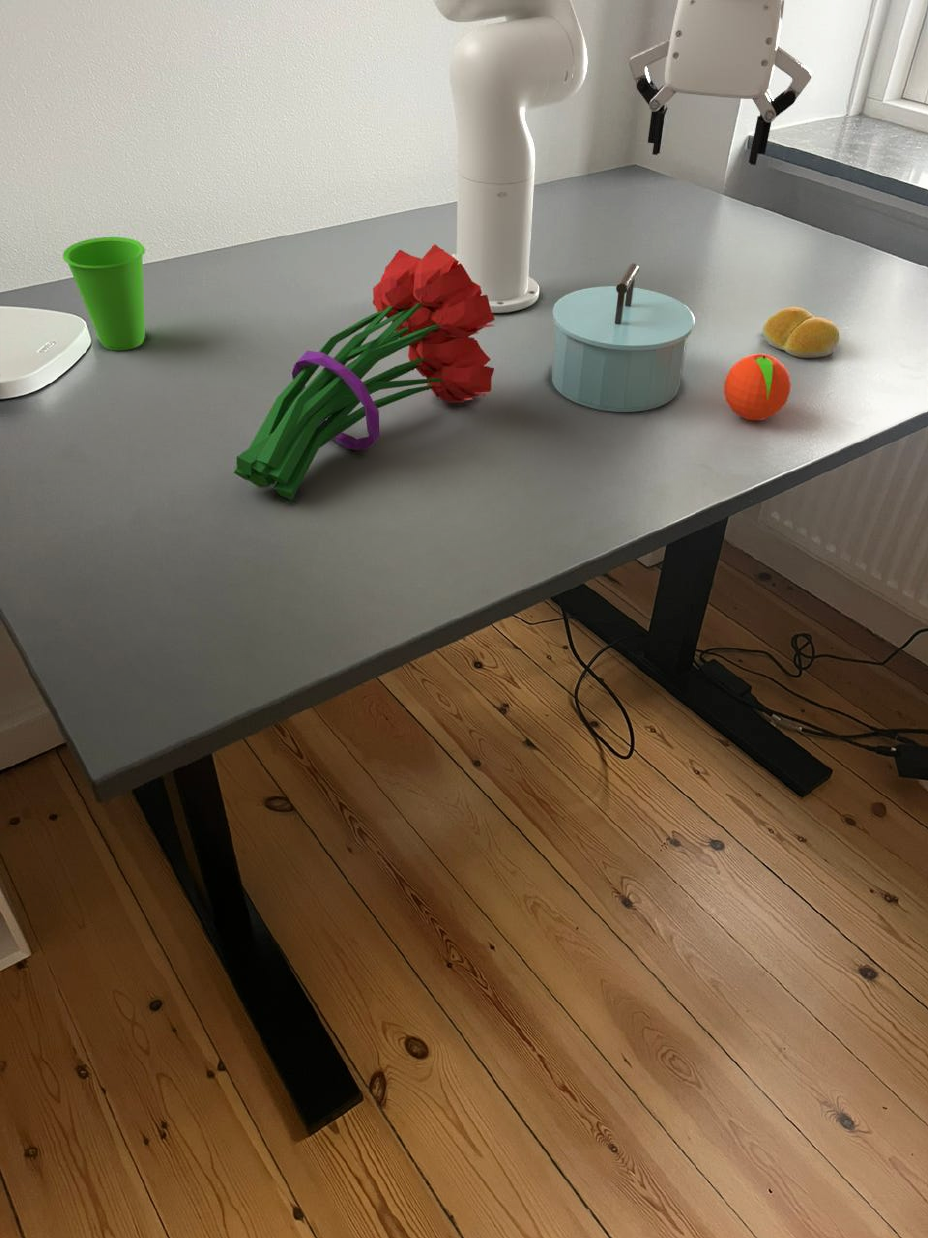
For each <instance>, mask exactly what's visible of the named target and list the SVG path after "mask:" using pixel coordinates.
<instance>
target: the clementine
mask: <svg viewBox="0 0 928 1238" xmlns="http://www.w3.org/2000/svg"><path fill="white" fill-rule="evenodd" d="M723 385H724V386H723V394H724V399H725V402H726V403H727V405H728V407H729V408H730V410H731V412H733V413H734V414H735V415H737V416H738V417H740V418H742V419H745V420H748V421H749V420H750V421H761V420H764V419H768V418H770V417H772V416H774V415H776V414H777V413H778V412H779V411H781V410H782V408H783V407H784V406H785V405H786V403H787V401H788V397H789V396H790V394H791V386H792V383H791V378H790V374H789V371H788V370H787V368H786V366H785V365H784V364H783V363H782V362H781V361H780V360H778V359H777V358H776V357H774V356H773V355H769V354H766V353H765V354H764V353H754V354H751V355H748V356H745V357H743V358H740V360H738V361H737V362H735V364H733V366H732V367H731V368H730V369H729V371H728V372H727V374H726V376H725V380H724V384H723Z"/></svg>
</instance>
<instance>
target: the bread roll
mask: <svg viewBox="0 0 928 1238" xmlns="http://www.w3.org/2000/svg"><path fill="white" fill-rule="evenodd" d="M762 335H763V337H764V339H765V341H766V342H767V343H768V344H769V345H770V346H772V347H773V348H776V349H778V350H780V351H785V352H786V354H789V355H790V356H792V357H796V358H801V359H807V358H808V359H815V358H823V357H826V356H829V355H831V354H833V353H834V352H835V351H836V350H837V347H838V344H839V341H840V331H839V329H838V327H837V326H836V325H835V323H834V322H833V321H831V320H829V319H827V318H823V317H815V316H814V315H813V314H811V313H810V312H809V311H808V310H807V309H804V308H802V307H799V306H789V307H784V308H782V309H780V310H779V311H777V312H776V313H774V314H773V315H771V316H769V317H768V318H767V319H766V320H765V321H764V322H763V325H762Z"/></svg>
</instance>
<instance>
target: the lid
mask: <svg viewBox="0 0 928 1238" xmlns="http://www.w3.org/2000/svg"><path fill="white" fill-rule="evenodd" d="M639 271H640V267H639V265H638V264H637V263H635V262H634V263H630V264H629V265H628V266H627V268H626V270H625V272H624V273H623V275H622V277H621V278H620V280H619V281H618V283H617V285H610V286H609V285H606V286H593V287H586V288H583V289H578V290H574V291H572V292H570V293H567V294H565V295H563V296H562V297H560V298H559V299H557V301H556V302H554V305H553V306H552V311H551V317H552V321H553V323H554V326H555V325H556V326H557V327H558V328H559V329H560V330H561V331H562V332H563V333H565V334H566V335H568V336H570V337H572V338H574V339H576V340H578V341H581V342H584V343H587V344H590V345H594V346H597V347H602V348H608V349H615V350H631V351H638V350H652V349H659V348H664V347H668V346H671V345H674V344H677V343H679V342H681V341H683V340H684V339H686V338H687V337H688V338H689V337H690V335H692V332H693V331H694V329H695V328H694V327H695V323H696V322H695V316H694V314H693V312H692V311H691V309H689V307H688V306H686V304H684V303H683V302H680V300H677V299H675V298H674V297H671V296H669V295H666V294H664V293H660V292H657V291H653V290H649V289H645V288H639V287H635V284H636V276H637V275H638V273H639Z"/></svg>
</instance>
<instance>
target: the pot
mask: <svg viewBox="0 0 928 1238" xmlns="http://www.w3.org/2000/svg"><path fill="white" fill-rule="evenodd" d="M688 341H689V336H688V337H687V338H686V339H684V340H683V341H681V342H679V343H677V344H674V345H671V346H668V347H664V348H659V349H652V350H638V351H631V350H615V349H608V348H602V347H597V346H594V345H590V344H587V343H584V342H581V341H578V340H576V339H574V338H572V337H570V336H568V335H566V334H565V333H563V332H562V331H561V330H560V329H559V328H558V327H557V326H556V325H555V324H554V332H553V343H552V345H553V346H552V357H551V370H550V371H551V382H552V385H553V387H554V388H555V390H556V391H557V392H558V393H559V394H560V395H562V396H563V397H564V398H566V399H567V400H569V401H570V402H573V403H575V404H578V405H581V406H582V407H587V408H590V409H594V410H599V411H604V412H612V413H635V412H636V413H637V412H644V411H649V410H653V409H657V408H659V407H662V406H664V405H666V404H669V402H671V401H673V400H674V398H675V397H676V395H677V394H678V392H679V387H680V385H681V381H682V375H683V369H684V364H685V359H686V351H687V346H688Z"/></svg>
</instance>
